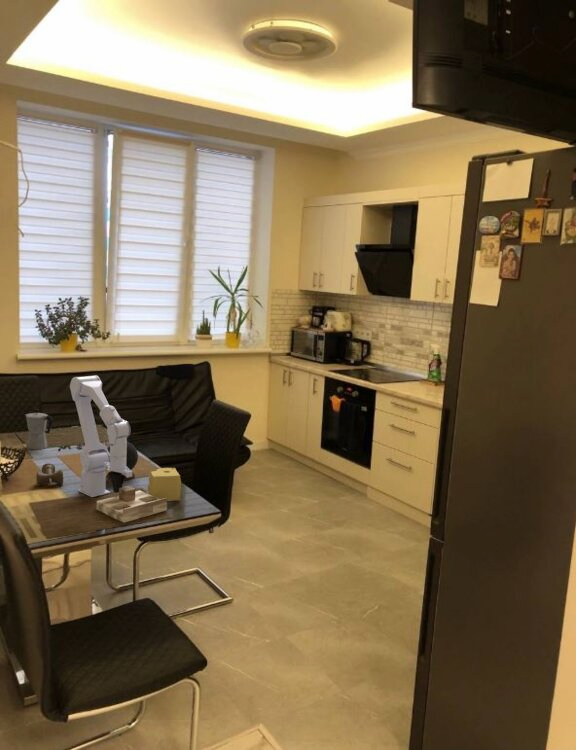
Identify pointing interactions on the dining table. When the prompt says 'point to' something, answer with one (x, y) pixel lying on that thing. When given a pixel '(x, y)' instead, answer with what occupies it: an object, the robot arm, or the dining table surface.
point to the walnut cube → (127, 493)
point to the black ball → (129, 459)
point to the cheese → (165, 484)
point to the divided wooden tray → (132, 506)
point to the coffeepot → (37, 430)
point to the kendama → (49, 475)
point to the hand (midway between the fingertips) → (117, 491)
